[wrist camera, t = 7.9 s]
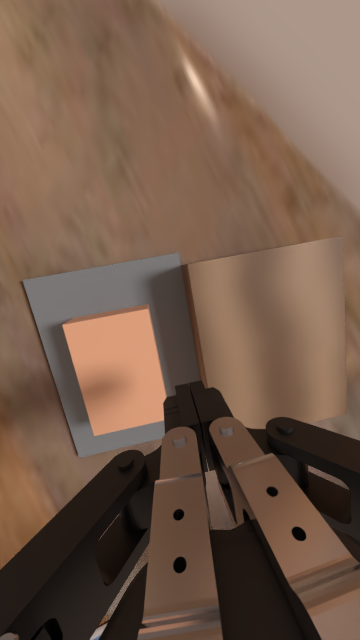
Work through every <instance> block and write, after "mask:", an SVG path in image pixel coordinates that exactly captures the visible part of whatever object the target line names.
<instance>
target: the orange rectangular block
mask: <svg viewBox="0 0 360 640" xmlns="http://www.w3.org/2000/svg"><path fill="white" fill-rule="evenodd" d="M62 326H63V330H64V333H65V336H66V340H67V343H68V347H69V350H70V354H71V357H72V361H73V364H74V368H75V371H76V375H77V378H78V382H79V385H80V389H81V392H82V396H83V399H84V403H85V406H86V409H87V413H88V416H89V420H90V423H91V427H92V430H93V434H94V436H97V435H102V434H106V433H110V432H115V431H119V430H124V429H128V428H133V427H137V426H141V425H146V424H150V423H155V422H159V421H163V420H164V410H163V402H164V401H165V399H166V397H167V394H166V389H165V384H164V379H163V374H162V369H161V364H160V359H159V354H158V349H157V344H156V339H155V335H154V330H153V325H152V320H151V315H150V310H149V305H148V304H146V305H141V306H135V307H130V308H124V309H119V310H114V311H108V312H103V313H98V314H92V315H87V316H81V317H76V318H73V319H71V320H69V321H68V322H66V323H64V324H63V325H62Z"/></svg>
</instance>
